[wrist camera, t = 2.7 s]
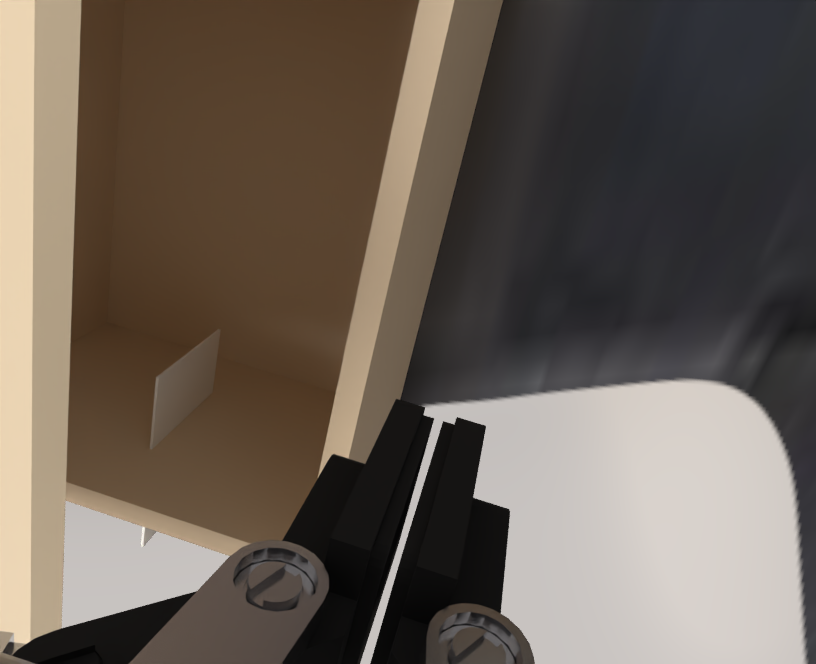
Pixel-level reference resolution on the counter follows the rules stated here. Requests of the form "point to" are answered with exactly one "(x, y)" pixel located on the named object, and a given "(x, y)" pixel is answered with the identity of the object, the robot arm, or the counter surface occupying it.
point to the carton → (254, 244)
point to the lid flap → (35, 302)
